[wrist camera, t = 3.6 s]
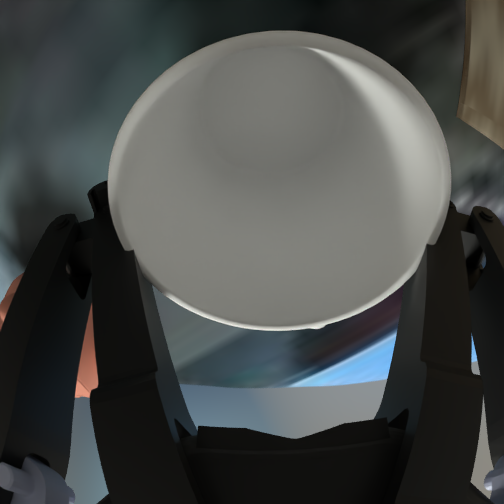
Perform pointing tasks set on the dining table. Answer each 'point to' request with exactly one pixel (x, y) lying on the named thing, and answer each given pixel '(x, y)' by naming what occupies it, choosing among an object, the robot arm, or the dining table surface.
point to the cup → (279, 180)
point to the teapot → (87, 365)
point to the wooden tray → (484, 69)
